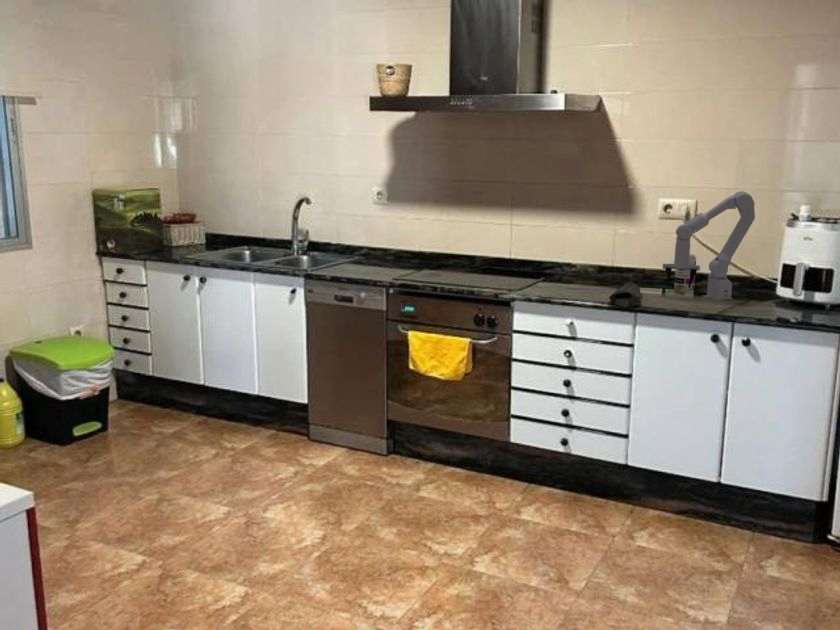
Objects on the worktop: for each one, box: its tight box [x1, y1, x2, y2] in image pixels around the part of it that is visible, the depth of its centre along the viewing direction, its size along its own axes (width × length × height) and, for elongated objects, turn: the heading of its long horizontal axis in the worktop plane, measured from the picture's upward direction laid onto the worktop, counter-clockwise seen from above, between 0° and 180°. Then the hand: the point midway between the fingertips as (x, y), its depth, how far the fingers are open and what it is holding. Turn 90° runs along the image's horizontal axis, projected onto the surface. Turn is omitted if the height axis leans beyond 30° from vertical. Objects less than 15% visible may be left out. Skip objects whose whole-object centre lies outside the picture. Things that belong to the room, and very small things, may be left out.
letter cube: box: [673, 285, 685, 295], centre depth 340 cm, size 4×4×4 cm
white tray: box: [639, 287, 663, 298], centre depth 344 cm, size 11×11×2 cm
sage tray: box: [665, 288, 695, 300], centre depth 341 cm, size 11×11×2 cm
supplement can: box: [674, 253, 697, 291], centre depth 354 cm, size 8×8×15 cm
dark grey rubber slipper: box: [608, 281, 644, 308], centre depth 331 cm, size 13×7×25 cm
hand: (679, 286), depth 340 cm, fingers open, 7 cm apart
